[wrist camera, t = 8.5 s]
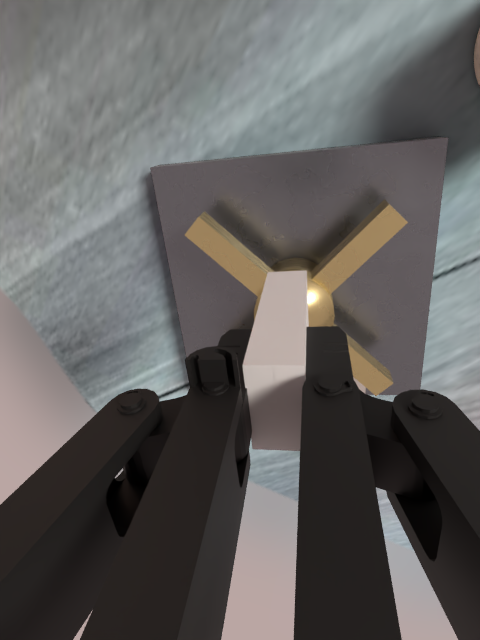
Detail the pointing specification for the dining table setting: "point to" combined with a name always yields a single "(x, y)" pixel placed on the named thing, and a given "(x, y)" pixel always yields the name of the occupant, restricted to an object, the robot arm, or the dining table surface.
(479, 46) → the teacup with lid
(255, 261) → the capstan
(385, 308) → the stand
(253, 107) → the dining table surface
